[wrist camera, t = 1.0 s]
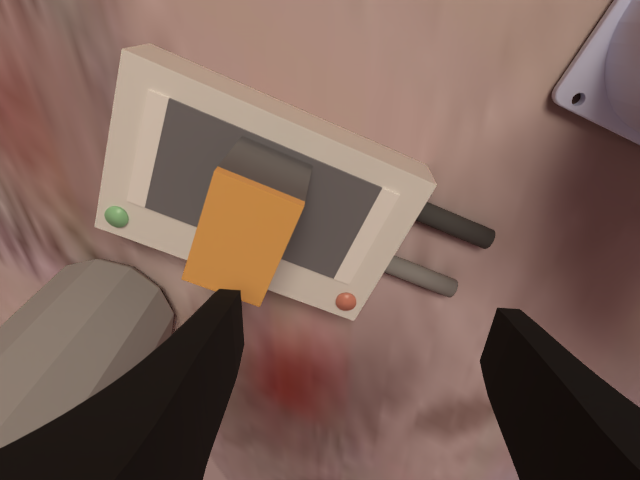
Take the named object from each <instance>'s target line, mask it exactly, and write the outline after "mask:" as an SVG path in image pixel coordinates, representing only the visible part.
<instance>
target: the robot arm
mask: <svg viewBox="0 0 640 480" xmlns="http://www.w3.org/2000/svg"><path fill="white" fill-rule="evenodd" d="M577 93H580V94H581V97H580V100H579V101H578V102H577V103H575V104H572V98H573V96H574V95H576V94H577ZM552 100H553V102H554V103H555V104H557V105H559V106H561V107H563V108H565V109H567V110H569V111H571V112H573V113H575V114H577V115H579V116H581V117H583V118H585V119H587V120H589V121H591V122H593V123H596V124H598V125H600V126H602V127H604V128H606V129H608V130H610V131H612V132H614V133H616V134H618V135H620V136H622V137H624V138H626V139H628V140H630V141H632V142H634V143H636V144H638V145H640V0H614V1H613V2H612V4H611V5H610V6H609V8H608V9H607V11H606V12H605V14H604V15H603V17H602V18H601V20H600V21H599V23H598V24H597V26H596V27H595V29H594V30H593V31H592V33H591V34H590V36H589V37H588V39H587V40H586V42H585V43H584V45H583V46H582V48H581V49H580V51H579V52H578V54H577V55H576V57H575V58H574V59H573V61H572V62H571V64H570V65H569V67H568V68H567V70H566V71H565V73H564V74H563V76H562V77H561V79H560V80H559V82H558V83H557V84H556V86H555V87H554V89H553V92H552ZM243 347H244V334H243V319H242V304H241V290H230V289H218V290H217V291H216V292H215V293H214V294H213V295H212V296H211V297H210V298H209V299H208V300H207V301H206V302H205V303H204V304H203V305H202V306H201V307H200V308H199V309H198V310H197V311H196V312H195V313H194V314H193V315H192V316H191V317H190V318H189V319H188V320H187V321H186V322H185V323H184V324H183V325H182V326H181V327H180V328H178V329H177V330H176V331H175V332H174V333H173V334H172V335H171V336H170V337H169V338H168V339H167V340H165V341H164V342H163V343H162V344H161V345H160V346H158V347H157V348H156V349H155V350H154V351H153V352H151V353H150V354H149V355H148V356H147V357H145V358H144V359H143V360H142V361H141V362H139V363H138V364H137V365H136V366H134V367H133V368H132V369H130V370H129V371H128V372H126V373H125V374H124V375H122V376H121V377H120V378H118V379H117V380H115V381H114V382H113V383H111V384H110V385H108V386H107V387H105V388H104V389H103V390H101V391H99V392H98V393H96V394H95V395H93V396H91V397H90V398H88V399H87V400H85V401H84V402H82V403H80V404H79V405H77V406H76V407H74V408H72V409H71V410H69V411H68V412H66V413H64V414H63V415H61V416H59V417H57V418H56V419H54V420H52V421H50V422H49V423H47V424H45V425H43V426H42V427H40V428H38V429H36V430H34V431H32V432H30V433H29V434H27V435H25V436H23V437H21V438H19V439H17V440H15V441H13V442H12V443H10V444H8V445H6V446H4V447H2V448H0V480H203V476H204V473H205V468H206V465H207V462H208V459H209V456H210V452H211V449H212V447H213V444H214V441H215V438H216V435H217V432H218V430H219V427H220V424H221V421H222V418H223V415H224V413H225V410H226V407H227V404H228V401H229V398H230V395H231V393H232V390H233V387H234V384H235V381H236V378H237V374H238V370H239V366H240V361H241V357H242V352H243ZM480 364H481V369H482V373H483V378H484V382H485V386H486V390H487V394H488V397H489V400H490V403H491V406H492V408H493V411H494V414H495V416H496V419H497V422H498V424H499V427H500V429H501V432H502V435H503V437H504V440H505V443H506V445H507V448H508V450H509V453H510V456H511V458H512V461H513V463H514V466H515V469H516V471H517V474H518V477H519V480H640V408H639V407H638V406H637V405H635V404H634V403H633V402H631V401H630V400H629V399H627V398H626V397H625V396H623V395H622V394H621V393H619V392H618V391H617V390H616V389H614V388H613V387H612V386H610V385H609V384H608V383H606V382H605V381H604V380H603V379H601V378H600V377H599V376H598V375H596V374H595V373H594V372H593V371H592V370H590V369H589V368H588V367H587V366H585V365H584V364H583V363H582V362H581V361H579V360H578V359H577V358H576V357H575V356H574V355H572V354H571V353H570V352H569V351H568V350H567V349H565V348H564V347H563V346H562V345H561V344H560V343H559V342H557V341H556V340H555V339H554V338H553V337H552V336H551V335H549V334H548V333H547V332H546V331H545V330H544V329H543V328H541V327H540V326H539V325H538V324H537V323H536V322H535V321H533V320H532V319H531V318H530V317H529V316H527V315H526V314H525V313H524V312H522V311H521V310H520V309H508V308H497V310H496V313H495V316H494V319H493V323H492V326H491V329H490V332H489V335H488V338H487V341H486V344H485V347H484V350H483V353H482V356H481V359H480Z"/></svg>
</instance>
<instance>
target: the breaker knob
mask: <svg viewBox="0 0 640 480" xmlns="http://www.w3.org/2000/svg"><path fill="white" fill-rule="evenodd" d="M311 171H312V165H310V164H307V163H305V162H302V161H300V160H298V159H295V158H293V157H290V156H288V155H286V154H283V153H281V152H279V151H276V150H274V149H271V148H269V147H267V146H264V145H262V144H259V143H257V142H255V141H252V140H250V139H247V138H245V137H243V136H242V137H241V138H240V139H239V140H238V142H237V143H236V144H235V145H234V147H233V148H232V149H231V150H230V152H229V153H228V154H227V155H226V157H225V158H224V159H223V160H222V162H221V163H220V164H219V165H218V167H217V168H216V169H215V170H214V173H213V176H212V180H211V183H210V186H209V189H208V193H207V196H206V199H205V203H204V206H203V209H202V213H201V216H200V219H199V223H198V226H197V229H196V233H195V236H194V239H193V243H192V246H191V249H190V252H189V256H188V259H187V262H186V266H185V269H184V272H183V276H182V280H185V281H188V282H191V283H193V284H196V285H199V286H202V287H205V288H207V289H210V290H213V291H217V290H218V289H230V290H241V301H244V302H247V303H250V304H252V305H255V306H258V307H260V305H261V303H262V301H263V299H264V296H265V294H266V292H267V290H268V287H269V285H270V283H271V281H272V278H273V276H274V274H275V271H276V269H277V267H278V265H279V262H280V260H281V258H282V256H283V253H284V251H285V249H286V247H287V244H288V242H289V240H290V238H291V235H292V233H293V231H294V229H295V226H296V224H297V222H298V220H299V217H300V215H301V213H302V210H303V208H304V205H305V200H306V195H307V190H308V186H309V181H310V176H311Z"/></svg>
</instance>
